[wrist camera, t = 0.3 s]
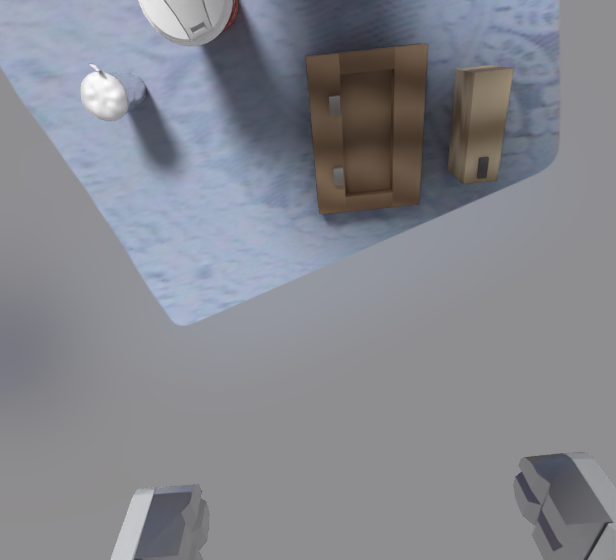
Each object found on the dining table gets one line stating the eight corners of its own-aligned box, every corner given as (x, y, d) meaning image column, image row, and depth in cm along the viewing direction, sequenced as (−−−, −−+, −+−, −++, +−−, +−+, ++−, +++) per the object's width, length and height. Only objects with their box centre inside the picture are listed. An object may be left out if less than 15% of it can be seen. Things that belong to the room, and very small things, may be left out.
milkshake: (149, 61, 46) (116, 66, 37) (153, 111, 48) (123, 127, 40) (108, 55, 45) (65, 60, 37) (114, 106, 48) (76, 122, 39)
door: (455, 68, 47) (476, 73, 42) (489, 64, 47) (515, 68, 41) (447, 169, 53) (464, 185, 48) (477, 166, 53) (498, 181, 48)
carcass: (305, 55, 46) (306, 57, 42) (419, 43, 45) (430, 44, 42) (318, 204, 55) (319, 217, 51) (412, 195, 55) (421, 207, 51)
